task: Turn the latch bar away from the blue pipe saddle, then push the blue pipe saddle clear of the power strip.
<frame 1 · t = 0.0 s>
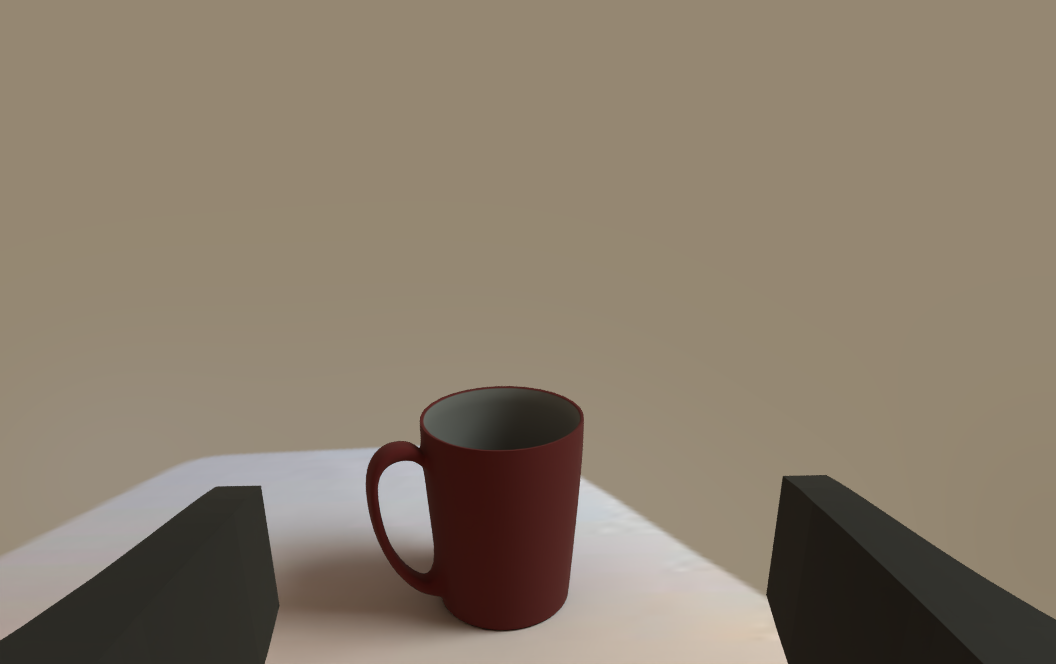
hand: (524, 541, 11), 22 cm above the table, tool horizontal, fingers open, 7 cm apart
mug: (479, 600, 45), on the table
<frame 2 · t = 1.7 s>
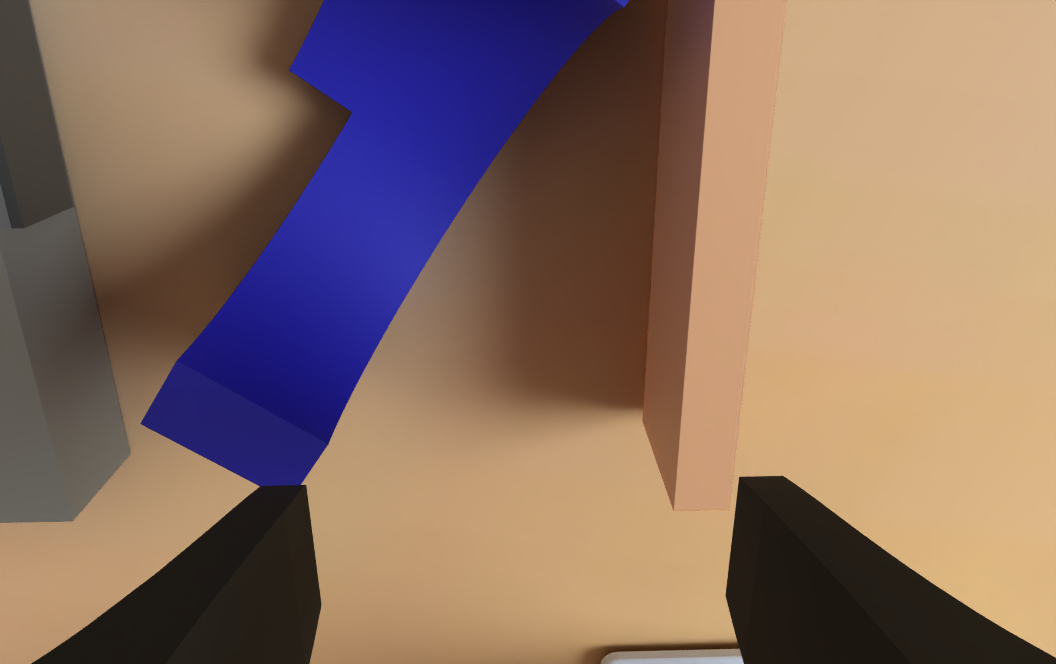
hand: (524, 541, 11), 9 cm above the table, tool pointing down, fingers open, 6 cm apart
latch bar: (711, 113, 15), point 3 cm above the table, hinge at 0.0°
blue pipe saddle: (393, 123, 18), on the table
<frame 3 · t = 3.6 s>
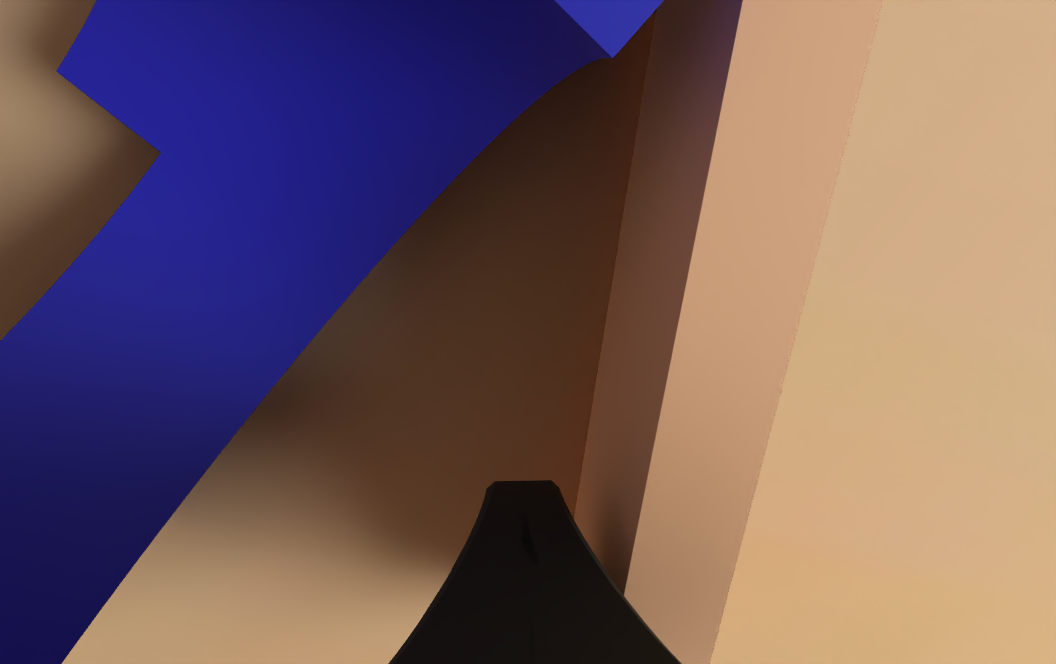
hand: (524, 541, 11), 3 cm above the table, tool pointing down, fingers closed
latch bar: (706, 204, 9), point 3 cm above the table, hinge at 1.2°, touching gripper
blue pipe saddle: (249, 168, 12), on the table
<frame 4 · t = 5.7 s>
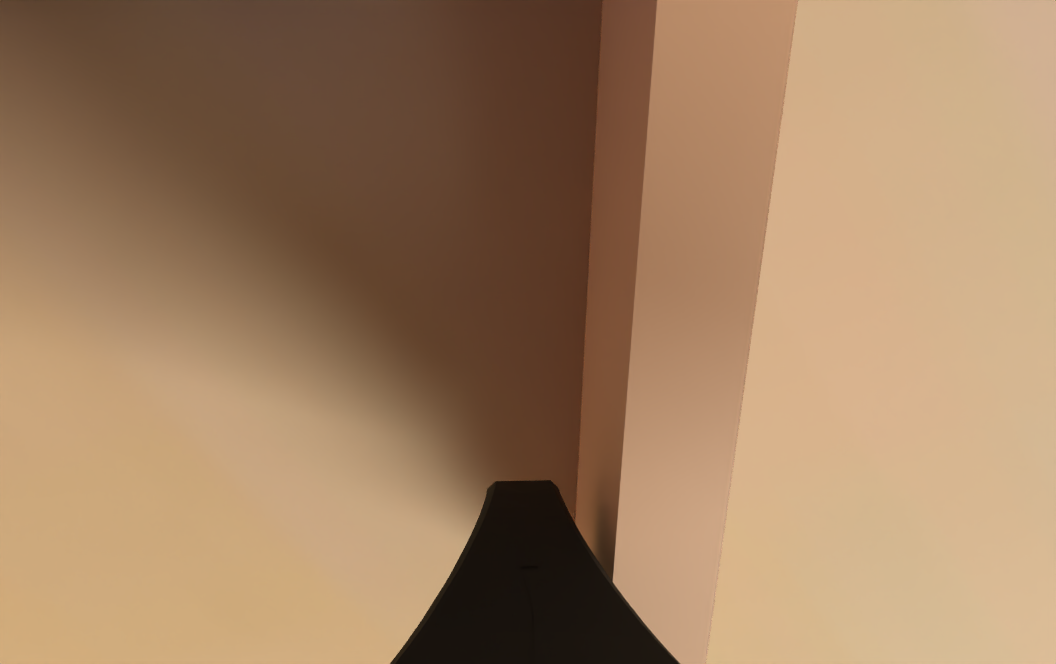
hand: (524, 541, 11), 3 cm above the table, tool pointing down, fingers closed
latch bar: (663, 194, 9), point 3 cm above the table, hinge at 45.5°, touching gripper
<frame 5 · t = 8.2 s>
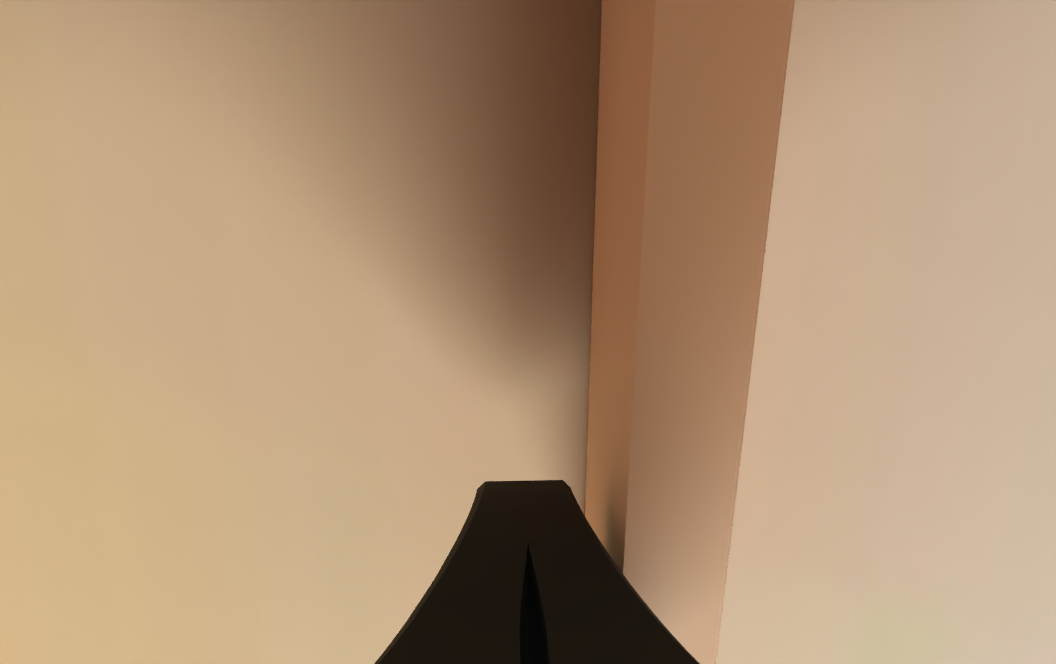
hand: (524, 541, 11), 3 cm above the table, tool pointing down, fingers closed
latch bar: (666, 179, 9), point 3 cm above the table, hinge at 84.8°, touching gripper
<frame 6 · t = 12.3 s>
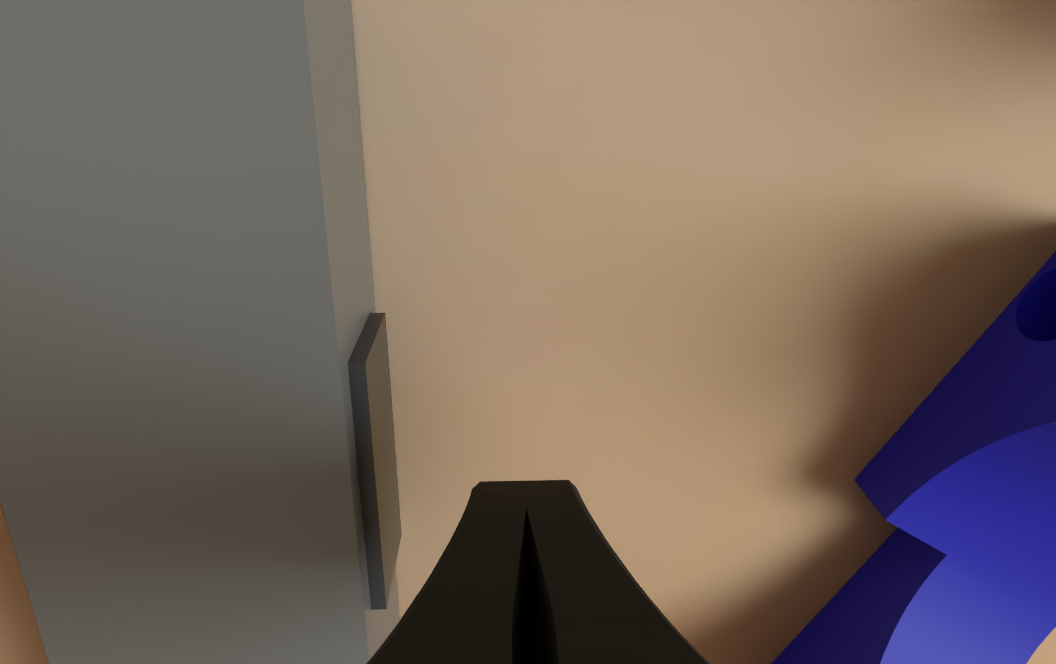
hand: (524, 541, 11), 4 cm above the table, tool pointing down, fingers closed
blue pipe saddle: (929, 517, 16), on the table
power strip: (252, 466, 14), on the table
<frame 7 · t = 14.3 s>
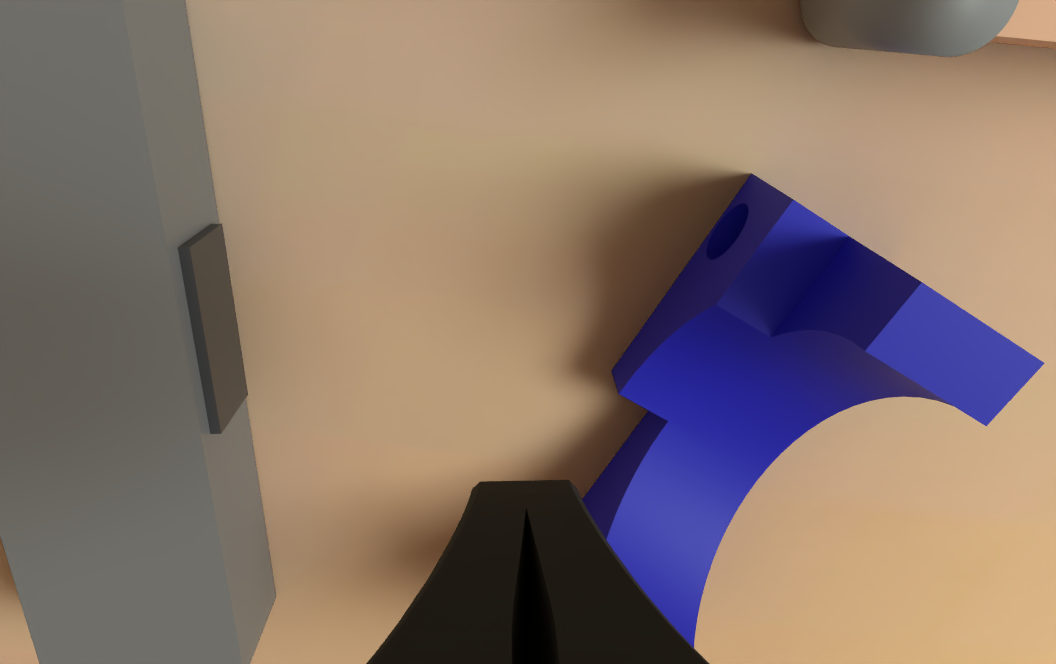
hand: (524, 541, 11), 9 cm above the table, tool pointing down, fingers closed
blue pipe saddle: (678, 403, 21), on the table
power strip: (137, 344, 20), on the table
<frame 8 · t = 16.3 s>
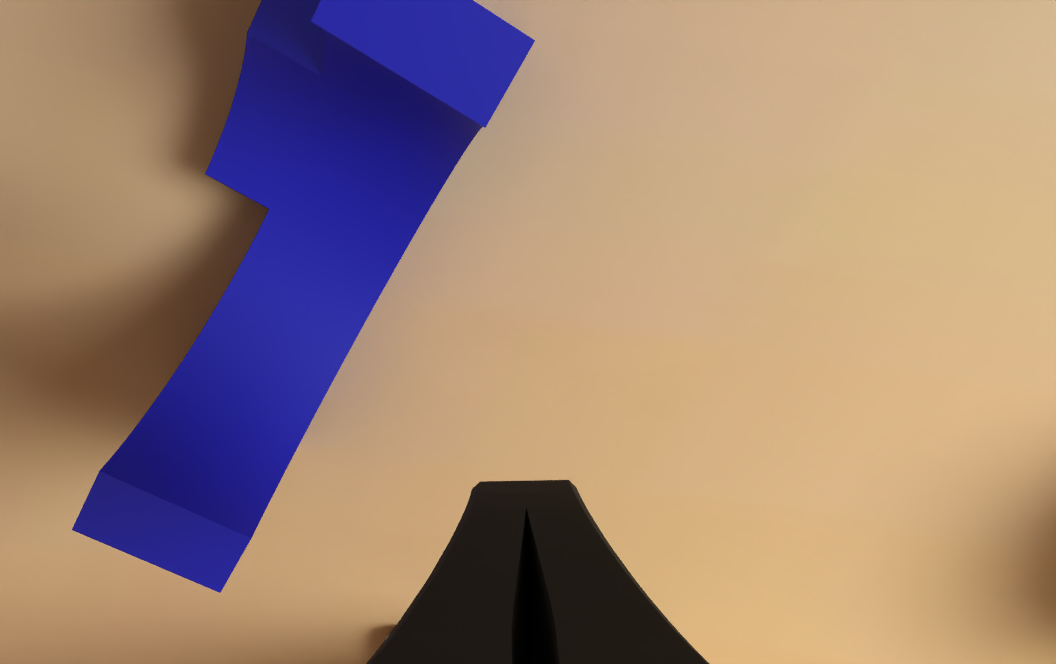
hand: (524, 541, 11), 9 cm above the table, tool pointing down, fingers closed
blue pipe saddle: (317, 208, 19), on the table
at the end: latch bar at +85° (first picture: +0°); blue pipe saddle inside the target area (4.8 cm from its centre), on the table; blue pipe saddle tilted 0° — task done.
